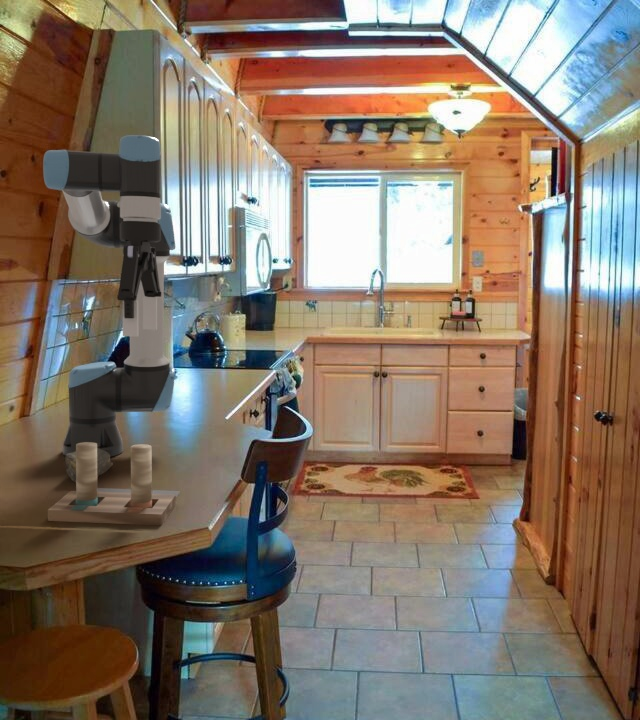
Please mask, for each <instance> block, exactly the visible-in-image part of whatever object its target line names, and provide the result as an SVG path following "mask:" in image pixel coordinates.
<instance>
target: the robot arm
mask: <svg viewBox="0 0 640 720" xmlns="http://www.w3.org/2000/svg"><path fill="white" fill-rule="evenodd" d="M161 159H162V153H161V142H160V140H159V138H156V137H154V136H149V135H141V134H129V135H124V136H122V137H121V138H120V140H119V151H118V153H117V152H116V153H115V152H102V151H101V152H97V151H96V152H95V151H80V150H68V149H57V150H56V149H51V150H50V149H49V150H47V151H46V152H45V153H44V154H43V162H42V164H43V165H42V169H43V172H42V173H43V180H44V184H45V186H46V188H48V189H50V190H56V191H57V190H58V191H62V194H63V196H64V199H65V201H66V204H67V206H68V213H67V214H68V216H67V217H68V221H69V223H70V225H71V227H72V228H73V230H74V231H75V232H76V233H77V234H78V235H80V237H82V238H84V239H86V240H87V241H89V242H90V243H93V244H95V245H98V246H101V247H106V248H111V249H113V248H115V249H122V265H121V272H120V281H119V286H118V293H117V297H116V298H117V301H122V337H129V355H128V356H127V357H126V359H124V361H123V367H117V365H116V363H115V362H114V361H99V362H91V363H84V364H82V365H81V364H80V365H77V366H74V367H73V368H72V369H71V370H70V371H69V372H68V385H67V388H68V417H69V418H68V420H69V421H68V424H69V425H68V426H67V430H66V434H65V437H64V440H63V443H62V454H63V455H64V456H66V454H68V453H74V452H75V451H76V444H78V443H83V442H93V443H97V449H101V450H104V451H106V452H108V453H109V455H110V458H111V457H114V456H118V455H121V453H123V452H124V443H123V442H124V441H123V439H122V435H121V433H120V429H119V427H118V425H117V413H151V414H152V413H155V412H165V411H168V410H169V409H170V407H171V404H172V399H173V394H174V387H175V376H176V368H175V367H172V366H170V365H171V364H170V362H171V361H170V359H168V357H166V356H165V354H164V352H165V351H164V348H165V347H164V344H165V343H164V341H165V340H164V339H165V338H164V337H165V335H164V332H165V331H164V328H165V326H164V325H165V324H164V322H165V321H164V319H165V318H164V317H165V314H164V311H165V310H164V309H165V307H164V305H165V303H164V300H165V296H164V294H165V293H164V292H165V289H164V286H165V281H164V280H165V279H164V278H165V274H164V272H165V271H164V266H165V262H166V261H167V260H168V259H169V258H170V256H171V255H170V253H171V251H173V250H175V249H176V241H175V232H174V230H175V229H174V225H173V218H172V217H173V216H172V212H171V208H170V206H169V205H168V204H166V203H162V201H161V170H162V167H161V165H162V163H161ZM101 192H105V193H107V192H108V193H109V192H111V193H119V200H112V199H111V200H107V199H105V200H104V199H103V197H102V193H101Z"/></svg>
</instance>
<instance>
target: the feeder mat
mask: <svg viewBox="0 0 640 720" xmlns="http://www.w3.org/2000/svg"><path fill="white" fill-rule="evenodd" d="M97 492H115V493H131V488H111V487H110V488H108V487H107V488H106V487H105V488H104V487H97ZM181 492H182V491H181V490H163V489H160V490H159V489H156V490H155V489H152V494H168V495H176V498H177V497H178V496H179V495H180V493H181Z"/></svg>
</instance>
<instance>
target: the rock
mask: <svg viewBox="0 0 640 720" xmlns="http://www.w3.org/2000/svg"><path fill="white" fill-rule="evenodd" d="M64 456H65V455H64ZM64 461H65V467H66V470H65V472H66V474H67V476H68V477H69V478H70V480H71V481H72V482H74V483H76V451H75V452H74V453H68V454H66V456H65V460H64ZM113 464H114V463H113V462H111V457H110V455H109V453H108V452H106V451H104V450H101V449H97V477H99V476H101V475H103V474H104V473H106V472H107V471H108V470H110V469H111V467H112V466H113Z"/></svg>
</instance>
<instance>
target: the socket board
mask: <svg viewBox="0 0 640 720" xmlns="http://www.w3.org/2000/svg"><path fill="white" fill-rule="evenodd" d="M97 497H98V505H97V506H86V505H76V490H70V491H68V493H66V494H65V495H64V496H62V497H61V498H60V499H59V500H58V501H57V502H55V504H53V505H51V507H49V508H48V509H47V521H49V522H67V523H68V522H70V523H94V524H97V523H98V524H119V525H120V524H121V525H123V524H124V525H142V526H143V525H146V526H148V525H149V526H162V525H163V524H164V523H165V521H166V520H167V518H168V517H169V515H170V514H171V512H172V511H173V510H174V509H175V507H176V505H177V497H176V495H168V494H152V508H138V507H131V493H115V492H97Z"/></svg>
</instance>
